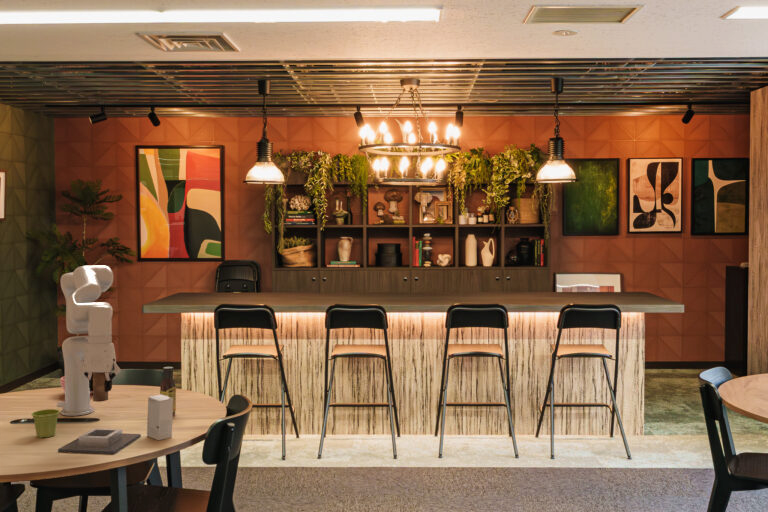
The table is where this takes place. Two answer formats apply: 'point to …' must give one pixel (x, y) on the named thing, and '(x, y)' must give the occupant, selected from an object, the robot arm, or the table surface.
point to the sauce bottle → (169, 386)
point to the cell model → (64, 384)
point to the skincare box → (159, 417)
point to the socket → (100, 442)
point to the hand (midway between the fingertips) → (100, 390)
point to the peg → (99, 387)
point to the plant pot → (45, 422)
